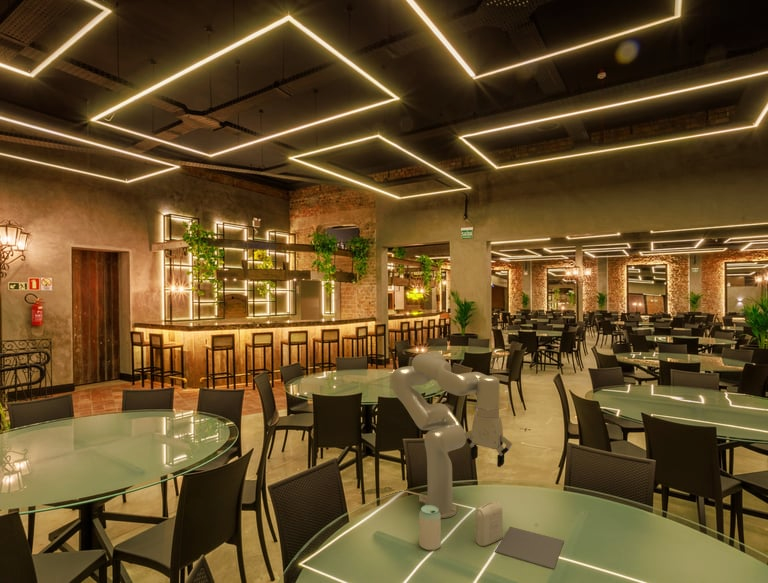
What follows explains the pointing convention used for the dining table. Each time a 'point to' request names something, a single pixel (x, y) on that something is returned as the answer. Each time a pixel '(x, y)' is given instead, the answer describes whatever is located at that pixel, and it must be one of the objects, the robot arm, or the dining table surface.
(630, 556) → the dining table surface
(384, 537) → the dining table surface
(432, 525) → the can
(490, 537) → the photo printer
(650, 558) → the dining table surface
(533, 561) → the rubber mat
